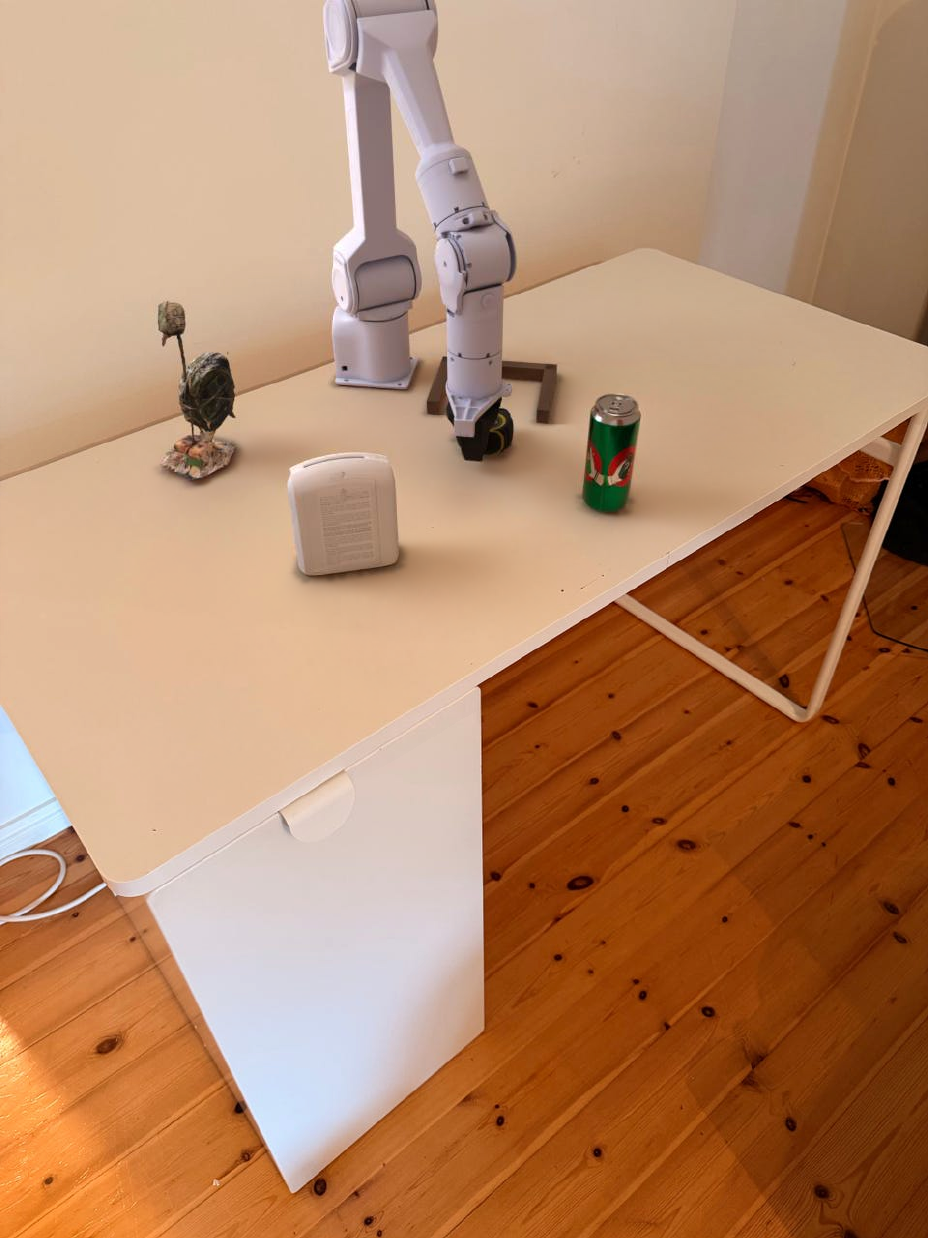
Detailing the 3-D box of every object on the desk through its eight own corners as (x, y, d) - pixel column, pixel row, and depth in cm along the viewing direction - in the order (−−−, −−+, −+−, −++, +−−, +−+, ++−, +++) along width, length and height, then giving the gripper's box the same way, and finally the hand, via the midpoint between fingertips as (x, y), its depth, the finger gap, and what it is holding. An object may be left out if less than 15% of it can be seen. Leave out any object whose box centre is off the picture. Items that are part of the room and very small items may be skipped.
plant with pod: (267, 448, 109) (239, 281, 96) (188, 491, 103) (145, 319, 89) (224, 424, 113) (190, 260, 99) (145, 463, 107) (98, 295, 93)
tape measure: (509, 429, 112) (510, 401, 110) (516, 460, 107) (517, 432, 105) (452, 431, 112) (452, 404, 109) (457, 463, 107) (456, 435, 104)
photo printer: (396, 540, 97) (389, 437, 88) (403, 566, 93) (397, 462, 85) (296, 555, 95) (279, 451, 86) (301, 582, 92) (283, 477, 83)
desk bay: (426, 413, 115) (426, 400, 113) (442, 368, 123) (442, 355, 122) (548, 423, 113) (549, 410, 112) (556, 376, 121) (557, 364, 120)
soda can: (632, 492, 102) (646, 395, 94) (622, 519, 99) (636, 420, 91) (587, 484, 104) (597, 387, 95) (576, 510, 100) (586, 412, 92)
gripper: (504, 383, 90) (501, 498, 99) (521, 317, 101) (516, 426, 110) (432, 378, 91) (436, 492, 100) (456, 312, 101) (457, 421, 111)
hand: (474, 457), depth 105 cm, fingers closed
